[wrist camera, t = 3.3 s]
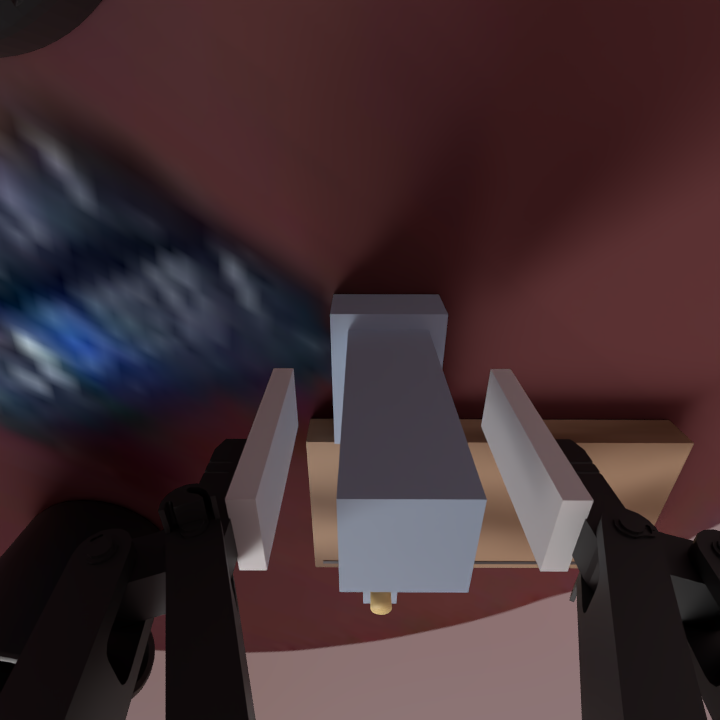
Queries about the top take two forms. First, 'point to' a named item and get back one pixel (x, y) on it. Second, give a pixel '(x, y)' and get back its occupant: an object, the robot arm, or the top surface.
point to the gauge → (399, 452)
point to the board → (500, 522)
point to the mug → (54, 571)
